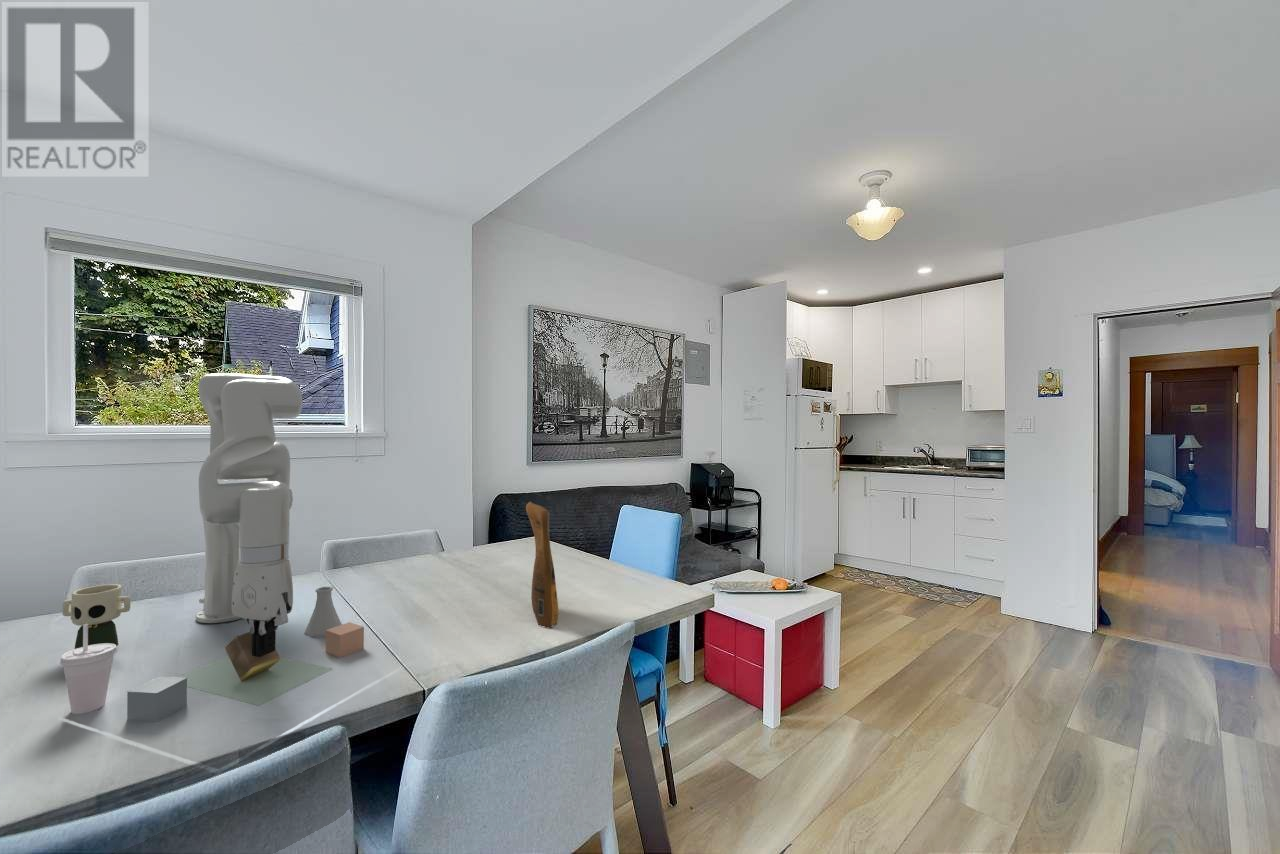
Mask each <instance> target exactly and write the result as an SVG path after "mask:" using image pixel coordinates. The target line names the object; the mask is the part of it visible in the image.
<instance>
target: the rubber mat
mask: <svg viewBox="0 0 1280 854" xmlns="http://www.w3.org/2000/svg"><path fill="white" fill-rule="evenodd" d="M279 657H280V660H279V661H278V662H277V663H275V664H274V665H273V666H272V667H271V668H270V669H269V670H266V671H264V672H262V673H260V674H257V675H255V676H253V677H250V678H248V679H246V680H244V681H241V680H240V678H239V676H238V674H237V672H236V670H235V668H234V666H233V664H232V662H231V660H230V658H229V656H225V657H223V658H221V659H218V660H216V661H212V662H210V663H207V664H204V665H201V666H200V667H196V668H194V669H192V670H190V671H186V672H184V673H181V674H179V675H176V676H175V677H182V678H187V688H190V689H193V690H199V691H202V692H205V693H210V694H213V695H217V696H220V697H224V698H228V699H230V700H231V699H232V700H235V701H239V702H243V703H247V704H251V705H254V706H258V707H259V706H261V705H263V704H265V703H267V702H269V701H271V700H273V699H275V698H277V697H280V696H281V695H283V694H285V693H287V692H289V691H291V690H293V689H296V688H299V687H300V686H301V685H304V684H306V683H307V682H310V681H312V680H314V679H316V678H319V676H322V675H323V674H325V673H328V672H330V671H332V670H333V668H331V667H326V666H322V665H318V664H314V663H309V662H303V661H299V660H295V659H290V658H285V657H281V656H279Z"/></svg>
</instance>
